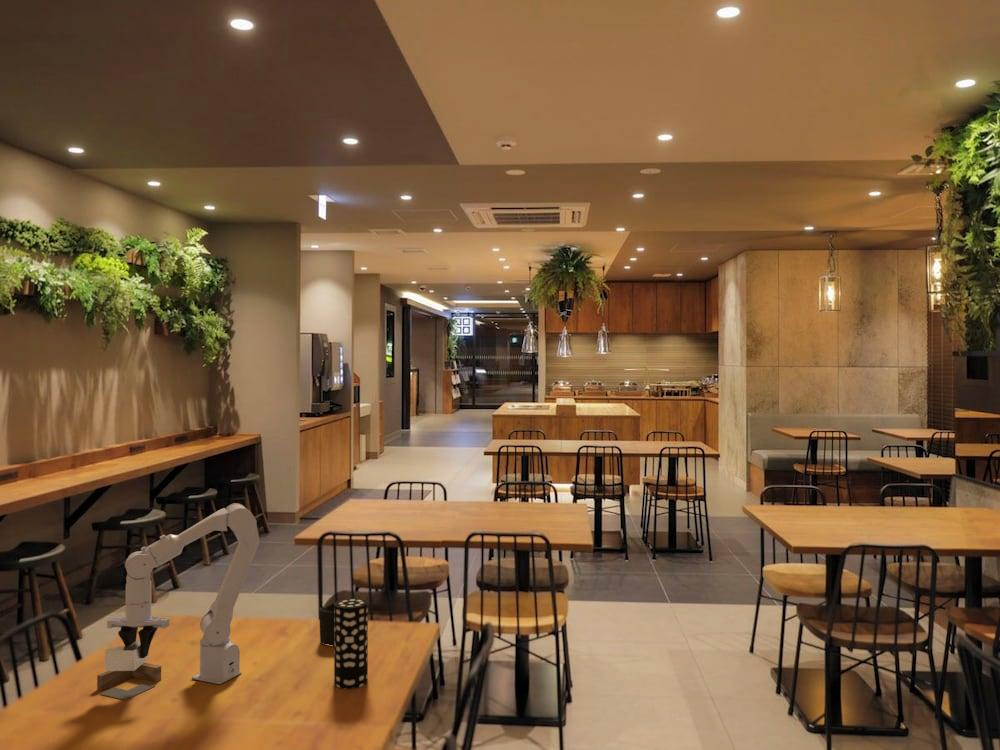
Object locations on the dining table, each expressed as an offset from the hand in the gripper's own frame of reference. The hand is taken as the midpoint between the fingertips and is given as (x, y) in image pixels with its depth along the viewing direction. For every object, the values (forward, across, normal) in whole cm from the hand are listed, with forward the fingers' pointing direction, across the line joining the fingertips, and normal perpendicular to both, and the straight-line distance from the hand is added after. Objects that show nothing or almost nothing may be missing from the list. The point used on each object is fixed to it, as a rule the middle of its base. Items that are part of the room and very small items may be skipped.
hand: (138, 656), depth 176 cm
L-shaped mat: (+8, +2, 0) cm, 9 cm away
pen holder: (+8, -41, -34) cm, 54 cm away
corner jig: (+8, +4, -3) cm, 10 cm away
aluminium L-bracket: (+2, +2, +1) cm, 3 cm away
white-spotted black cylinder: (+8, -52, -5) cm, 53 cm away
